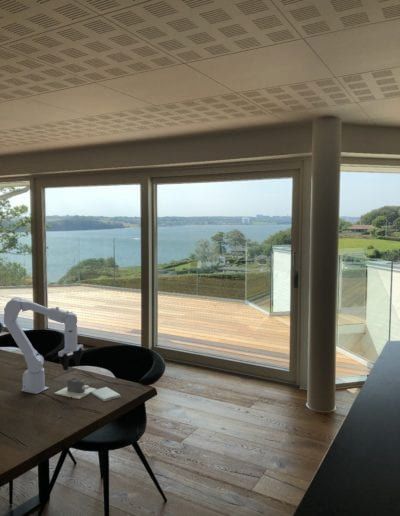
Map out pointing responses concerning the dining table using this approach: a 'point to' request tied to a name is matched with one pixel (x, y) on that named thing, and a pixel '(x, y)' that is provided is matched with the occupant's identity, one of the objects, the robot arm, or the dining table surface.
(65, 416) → the dining table surface
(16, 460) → the dining table surface
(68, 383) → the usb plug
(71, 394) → the rubber mat
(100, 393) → the hard drive
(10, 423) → the dining table surface
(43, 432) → the dining table surface
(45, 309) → the robot arm
